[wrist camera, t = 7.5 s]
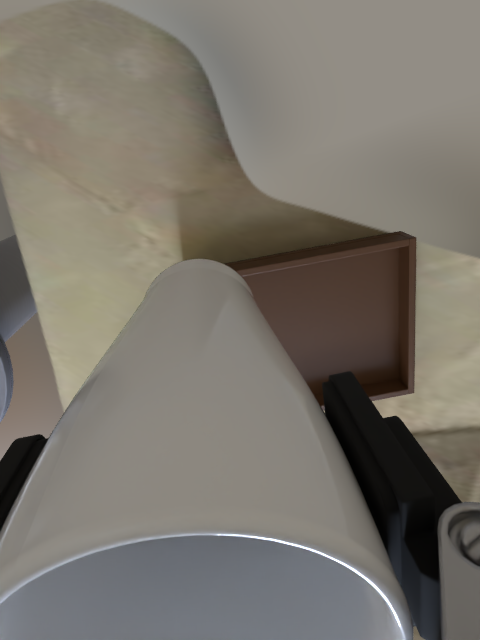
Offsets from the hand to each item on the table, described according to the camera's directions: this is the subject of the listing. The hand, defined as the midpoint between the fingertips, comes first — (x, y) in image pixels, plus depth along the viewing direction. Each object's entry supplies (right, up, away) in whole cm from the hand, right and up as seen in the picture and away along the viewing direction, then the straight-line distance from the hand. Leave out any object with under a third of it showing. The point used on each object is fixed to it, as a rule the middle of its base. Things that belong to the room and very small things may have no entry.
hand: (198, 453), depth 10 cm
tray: (+7, +3, +27) cm, 28 cm away
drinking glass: (-1, +4, +10) cm, 10 cm away
